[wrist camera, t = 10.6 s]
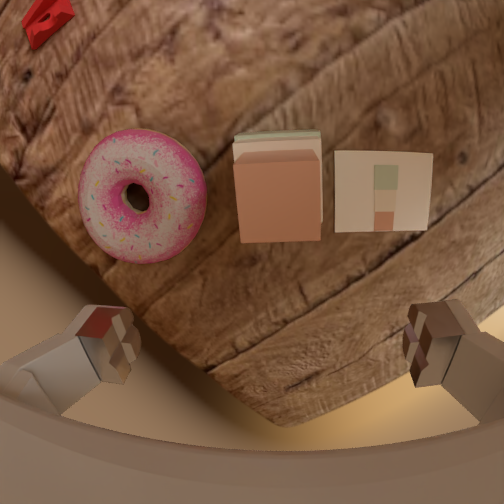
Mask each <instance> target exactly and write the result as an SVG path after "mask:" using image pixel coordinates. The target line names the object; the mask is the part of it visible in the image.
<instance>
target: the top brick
mask: <svg viewBox="0 0 504 504" xmlns="http://www.w3.org/2000/svg"><path fill="white" fill-rule="evenodd" d="M233 171H234V181H235V190H236V200H237V210H238V220H239V229H240V239H241V243H264V242H294V241H321V192H320V160H319V159H318V157H317V155H316V154H315V152H314V151H313V149H300V150H275V151H258V152H244V153H243V154H242V155H241V156H240V157H239V158H238V159H237V161H236V162H235V163H234V164H233Z"/></svg>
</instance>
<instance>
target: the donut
mask: <svg viewBox="0 0 504 504" xmlns="http://www.w3.org/2000/svg"><path fill="white" fill-rule="evenodd" d="M132 183H136V184H139V185H142V186H143V188H144V189H145V190H146V192H147V193H148V195H149V203H150V205H149V207H148V209H147V210H145V211H140V210H137V209H134V208H133V207H132V205H131V204H130V203H129V202H128V200H127V188H128V186H129V185H130V184H132ZM78 202H79V209H80V214H81V217H82V220H83V223H84V225H85V227H86V229H87V231H88V233H89V235H90V236H91V238H92V239H93V240H94V242H95V243H96V244H97V245H98V246H99V247H100V248H101V249H102V250H103V251H104V252H106V253H107V254H109V255H111V256H112V257H114V258H116V259H119V260H122V261H125V262H130V263H136V264H146V263H155V262H159V261H163V260H168V259H170V258H171V257H173V256H175V255H177V254H179V253H180V252H181V251H183V250H184V249H185V248H186V247H187V246H188V245H189V244H190V243H191V241H192V240H193V239H194V237H195V236H196V234H197V233H198V231H199V229H200V227H201V224H202V222H203V220H204V217H205V212H206V207H207V186H206V182H205V178H204V175H203V172H202V170H201V168H200V166H199V164H198V162H197V160H196V159H195V158H194V157H193V155H192V154H191V153H190V152H189V151H188V149H187V148H185V147H184V146H183V145H182V144H180V143H179V142H178V141H177V140H175V139H173V138H171V137H169V136H168V135H166V134H164V133H161V132H158V131H154V130H150V129H139V128H133V129H128V130H123V131H118V132H115V133H113V134H111V135H109V136H107V137H105V138H104V139H103V140H102V141H101V142H99V143H98V144H97V145H96V146H95V147H94V149H93V150H92V152H91V153H90V155H89V157H88V158H87V160H86V162H85V165H84V167H83V170H82V173H81V176H80V181H79V186H78Z"/></svg>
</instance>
